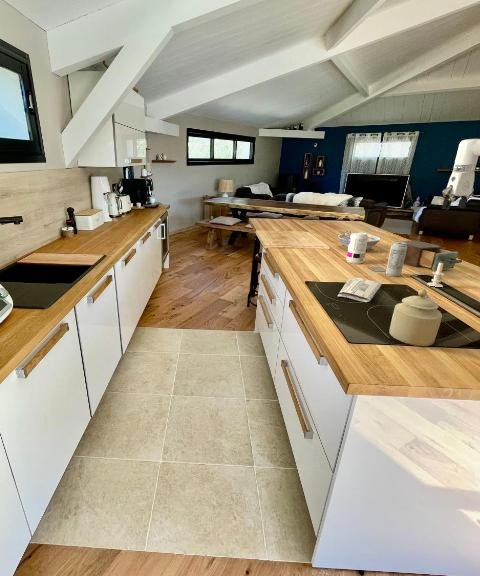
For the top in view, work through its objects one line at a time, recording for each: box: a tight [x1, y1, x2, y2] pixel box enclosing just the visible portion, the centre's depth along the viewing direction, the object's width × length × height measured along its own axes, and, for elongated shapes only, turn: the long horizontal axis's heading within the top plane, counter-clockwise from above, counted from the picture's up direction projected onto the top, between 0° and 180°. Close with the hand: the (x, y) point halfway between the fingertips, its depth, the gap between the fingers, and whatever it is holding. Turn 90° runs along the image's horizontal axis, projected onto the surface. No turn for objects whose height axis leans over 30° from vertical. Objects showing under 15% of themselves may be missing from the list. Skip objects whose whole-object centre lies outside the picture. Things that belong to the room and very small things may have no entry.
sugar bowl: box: [388, 288, 443, 347], centre depth 90 cm, size 15×11×15 cm
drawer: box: [418, 248, 463, 271], centre depth 149 cm, size 18×11×8 cm, turn 14°
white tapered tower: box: [427, 262, 445, 288], centre depth 127 cm, size 5×5×10 cm
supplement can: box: [345, 231, 369, 265], centre depth 160 cm, size 8×8×15 cm
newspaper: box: [337, 277, 382, 303], centre depth 125 cm, size 23×12×2 cm, turn 141°
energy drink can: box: [385, 241, 407, 278], centre depth 140 cm, size 6×6×15 cm
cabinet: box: [399, 239, 442, 268], centre depth 160 cm, size 15×13×10 cm
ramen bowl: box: [337, 230, 381, 250], centre depth 187 cm, size 25×23×8 cm
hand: (453, 208), depth 146 cm, fingers open, 9 cm apart
